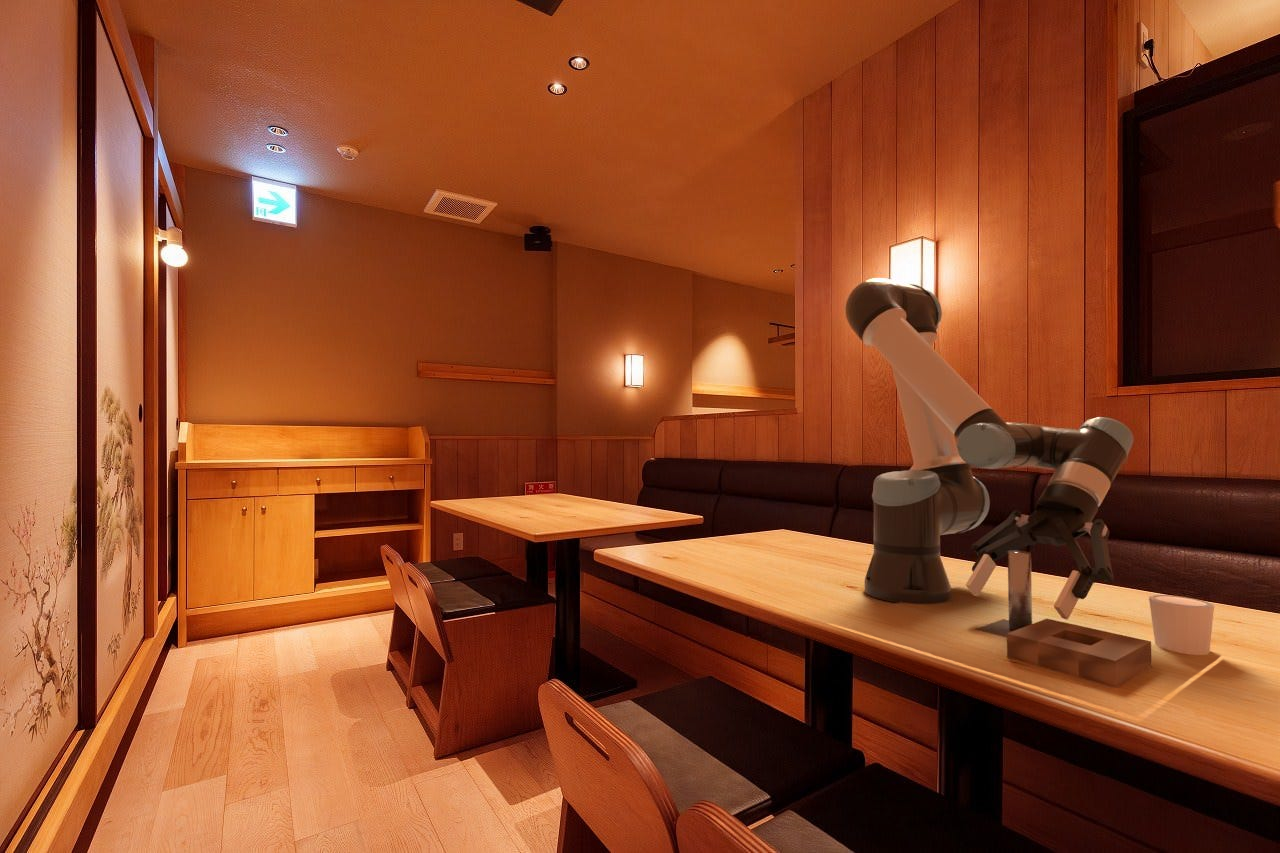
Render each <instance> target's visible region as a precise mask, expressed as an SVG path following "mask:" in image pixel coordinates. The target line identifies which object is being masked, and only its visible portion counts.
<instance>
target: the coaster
mask: <svg viewBox="0 0 1280 853" xmlns="http://www.w3.org/2000/svg"><path fill="white" fill-rule="evenodd" d="M975 630H977V631H980V632H984V633H988V634H991V635H996V636H1000V637H1004V638H1007V633H1010V632H1011V631H1009V619H1004V618H1002V619H999V620H997V621H994V622H991V623H989V624H985V625H983V626H980V627H977V628H975Z"/></svg>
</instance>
